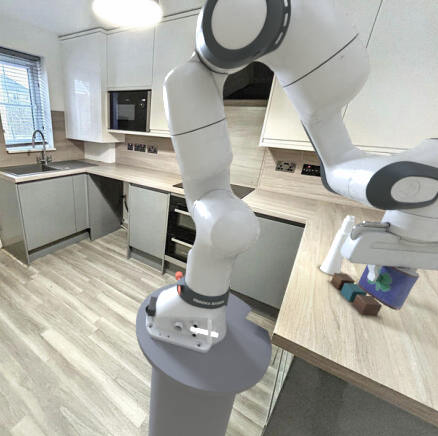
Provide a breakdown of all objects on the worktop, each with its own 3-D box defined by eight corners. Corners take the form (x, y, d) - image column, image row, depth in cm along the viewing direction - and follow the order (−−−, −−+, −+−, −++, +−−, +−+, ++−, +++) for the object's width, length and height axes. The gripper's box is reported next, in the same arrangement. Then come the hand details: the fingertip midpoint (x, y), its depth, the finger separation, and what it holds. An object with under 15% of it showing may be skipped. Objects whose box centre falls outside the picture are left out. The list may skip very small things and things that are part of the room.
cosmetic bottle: (321, 264, 92) (341, 211, 83) (341, 271, 88) (363, 216, 79) (318, 270, 88) (338, 216, 79) (338, 277, 84) (361, 221, 75)
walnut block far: (337, 289, 78) (341, 279, 76) (330, 282, 81) (334, 272, 80) (350, 291, 77) (355, 281, 76) (342, 283, 81) (346, 273, 79)
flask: (403, 310, 50) (427, 267, 46) (390, 311, 49) (413, 268, 45) (363, 283, 58) (381, 245, 54) (352, 283, 58) (369, 245, 54)
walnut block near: (361, 314, 67) (366, 303, 66) (351, 304, 71) (356, 294, 70) (376, 316, 67) (382, 305, 65) (366, 306, 71) (371, 295, 69)
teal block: (348, 301, 72) (353, 291, 71) (340, 293, 76) (344, 282, 75) (362, 302, 72) (367, 292, 70) (353, 294, 76) (358, 284, 74)
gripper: (367, 226, 45) (342, 285, 50) (489, 235, 43) (449, 295, 48) (346, 214, 51) (325, 268, 56) (452, 222, 49) (420, 277, 54)
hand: (384, 281), depth 52 cm, fingers closed on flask, 3 cm apart
